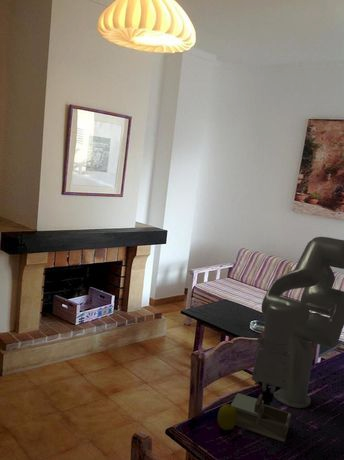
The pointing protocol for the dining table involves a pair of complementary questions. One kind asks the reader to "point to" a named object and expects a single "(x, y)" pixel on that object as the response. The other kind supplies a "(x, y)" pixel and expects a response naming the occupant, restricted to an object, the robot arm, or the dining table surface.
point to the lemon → (227, 417)
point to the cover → (248, 404)
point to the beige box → (266, 422)
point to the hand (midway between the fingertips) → (266, 402)
